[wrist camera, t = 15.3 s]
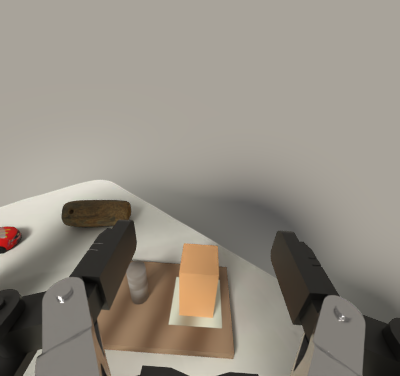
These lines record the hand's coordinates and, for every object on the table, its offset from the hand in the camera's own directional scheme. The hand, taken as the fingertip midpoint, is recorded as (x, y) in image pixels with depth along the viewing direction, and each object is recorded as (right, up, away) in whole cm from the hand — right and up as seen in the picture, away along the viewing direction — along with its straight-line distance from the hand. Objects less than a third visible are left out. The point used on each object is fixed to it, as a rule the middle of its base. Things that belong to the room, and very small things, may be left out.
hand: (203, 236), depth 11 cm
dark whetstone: (-26, -7, +40) cm, 48 cm away
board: (-6, -17, +22) cm, 29 cm away
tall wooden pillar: (-1, -16, +22) cm, 27 cm away
